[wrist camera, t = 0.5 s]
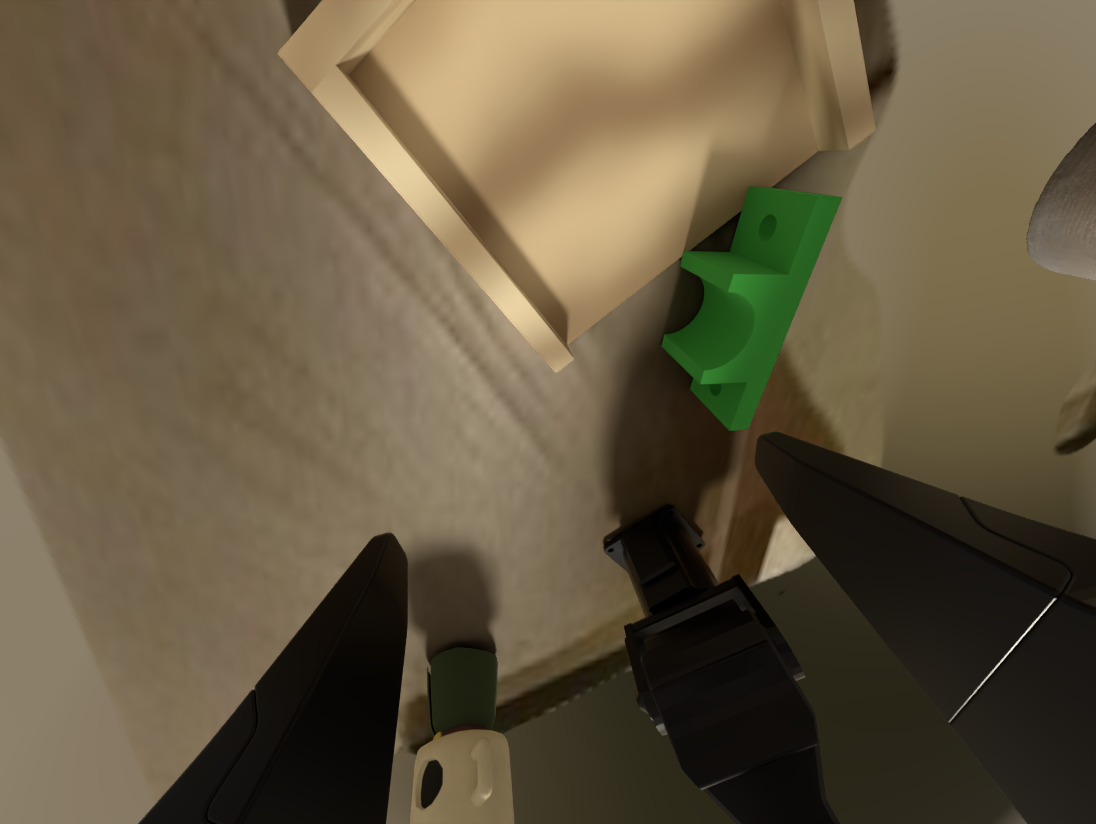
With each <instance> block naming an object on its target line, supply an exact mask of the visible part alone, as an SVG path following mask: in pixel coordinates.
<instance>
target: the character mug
mask: <svg viewBox="0 0 1096 824" xmlns="http://www.w3.org/2000/svg"><path fill="white" fill-rule="evenodd" d="M497 669H498V662H497V658H496V655H494V654H492V653H490V652H488V651H483V650H478V649H471V648H462V647H456V648H453V649H450V650H446V651H443V652H441V653H440V654H438V655H437V656H435V657H434V658H432V660H431V675H430V673H429V671H428V668H427V692H428V707H429V721H430V729H431V731H432V734H433V737H434V740H433V741H432V742H429V743H428V744H426V745H424V746H423V747H421V748H420V750H419V751H418V754H417V757H416V761H415V768H414V780H413V794H412V807H411V819H410V824H514V813H513V800H512V786H511V774H510V759H509V748H508V743H507V740H506V738H505V737H504V736H503V734H501V733H498V732H495V731H491V730H492V727H493V724H494V721H495V712H496V696H497Z"/></svg>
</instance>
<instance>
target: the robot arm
mask: <svg viewBox="0 0 1096 824" xmlns="http://www.w3.org/2000/svg"><path fill="white" fill-rule="evenodd" d="M755 466H756V469H757V471H758V473H759V474H760V476H761V477H762V479H763V480H764V482H765V484H766V485H767V487H768V488H769V490H770V492H771V493H772V495H773V496H774V498H775V499H776V501H777V503H778V504H779V506H780V507H781V509H782V511H783V512H784V514H785V515H786V517H787V518H788V520H789V521H790V523H791V524H792V525H793V527H794V528H795V529H796V531H797V532H798V533H799V534H800V536H801V537H802V538H803V540H804V541H805V542H806V543H807V545H808V546H809V547H810V548H811V550H812V551H813V552H814V554H815V555H816V556H817V557H818V559H819V560H820V561H821V562H822V564H823V565H824V566H825V567H826V569H827V570H828V571H829V573H830V574H831V575H832V576H833V578H834V579H835V580H836V581H837V583H838V584H839V585H840V586H841V588H842V589H843V590H844V592H845V593H846V594H847V595H848V596H849V598H850V599H851V600H852V602H853V603H854V604H855V605H856V607H857V608H858V609H859V611H860V612H861V613H862V614H863V616H864V617H865V618H866V619H867V621H868V622H869V623H870V624H871V626H872V627H873V628H874V629H875V631H876V632H877V633H878V634H879V636H880V637H881V638H882V640H883V641H884V642H885V643H886V645H887V646H888V647H889V648H890V650H891V651H892V652H893V654H894V655H895V656H896V657H897V659H898V660H899V661H900V662H901V664H902V665H903V666H904V668H905V669H906V670H907V671H908V673H909V674H910V675H911V676H912V678H913V679H914V680H915V681H916V683H917V684H918V685H919V687H920V688H921V689H922V690H923V692H924V693H925V694H926V695H927V697H928V698H929V699H930V700H931V702H932V703H933V704H934V705H935V707H936V708H937V709H938V711H939V712H940V713H941V714H942V716H943V717H944V718H945V719H946V721H947V722H949V723H950V726H951V728H952V729H953V730H954V731H955V733H956V734H957V735H958V736H959V738H960V739H961V740H962V742H963V743H964V744H965V745H966V747H967V748H968V749H969V750H970V752H971V753H972V754H973V755H974V757H975V758H976V759H977V760H978V762H979V763H980V764H981V765H982V767H983V768H984V769H985V770H986V772H987V773H988V774H989V776H990V777H991V778H992V779H993V781H994V782H995V783H996V784H997V786H998V787H999V788H1000V790H1001V791H1002V792H1003V793H1004V795H1005V796H1006V797H1007V798H1008V800H1009V801H1010V802H1011V804H1012V805H1013V806H1014V807H1015V809H1016V810H1017V811H1018V812H1019V814H1020V815H1021V816H1022V818H1023V819H1024V820H1025V821H1026V823H1027V824H1096V539H1093V538H1090V537H1087V536H1084V535H1080V534H1077V533H1073V532H1070V531H1066V530H1063V529H1060V528H1057V527H1054V526H1051V525H1047V524H1044V523H1041V522H1037V521H1034V520H1031V519H1028V518H1025V517H1021V516H1019V515H1015V514H1013V513H1009V512H1007V511H1004V510H1001V509H998V508H995V507H992V506H989V505H986V504H983V503H980V502H977V501H975V500H972V499H969V498H966V497H959V496H958V495H957V494H954V493H951V492H949V491H946V490H943V489H940V488H937V487H934V486H931V485H928V484H926V483H923V482H920V481H917V480H914V479H911V478H908V477H905V476H903V475H900V474H897V473H894V472H891V471H888V470H885V469H883V468H880V467H877V466H874V465H871V464H868V463H866V462H863V461H860V460H857V459H854V458H851V457H848V456H846V455H843V454H840V453H837V452H834V451H831V450H828V449H826V448H823V447H820V446H817V445H814V444H811V443H808V442H806V441H803V440H800V439H797V438H794V437H791V436H788V435H786V434H783V433H780V432H771V433H767V434H763V435H760V436H759V437H758V439H757V445H756V454H755ZM704 545H705V543H704V541H703V539H702V538H701V537H700V536H699V535H698V534H697V532H696V531H695V530H694V529H693V528H692V527H691V525H690V524H689V523H688V522H687V521H686V520H685V518H684V517H683V516H682V515H681V514H680V513H679V512H678V510H677V509H676V508H675V507H674V506H673V505H667V506H665V507H663V508H662V509H660V510H659V511H657V512H655V513H654V514H652V515H651V516H649V517H648V518H646V519H644V520H643V521H641V522H640V523H638V524H636V525H635V526H633V527H632V528H630V529H628V530H627V531H625V532H624V533H622V534H620V535H619V536H617V537H616V538H614V539H612V540H611V541H609V542H608V543H606V544H605V545H604V547H603V548H604V551H605V553H606V554H607V555H608V556H609V557H610V558H612V559H613V560H614V561H615V562H616V563H618V564H619V565H620V566H621V567H622V568H623V569H625V570H626V571H627V572H628V574H629V576H630V579H631V581H632V584H633V587H634V589H635V592H636V594H637V597H638V599H639V602H640V604H641V607H642V609H643V612H644V615H645V617H646V618H644V619H641V620H639V621H637V622H635V623H633V624H631V623H629V624H627V625H625V626H624V629H625V633H626V638H625V644H626V647H627V650H628V653H629V657H630V662H631V666H632V670H633V675H634V684H635V692H636V700H637V703H638V706H639V708H640V709H641V710H643V711H644V712H646V713H648V714H649V716H650V718H651V719H652V721H653V722H654V724H655V726H656V728H657V729H658V731H659V732H660V733H661V734H662V735H666V734H668V736H669V739H670V741H671V744H672V746H673V749H674V751H675V754H676V756H677V759H678V761H679V762H680V765H681V768H682V769H683V771H684V772H685V773H686V774H687V775H688V777H689V778H690V779H691V780H692V781H693V782H694V783H695V785H697V787H698V788H700V789H701V790H704V791H705V792H706V793H707V794H708V795H709V796H710V797H711V798H712V799H713V800H714V801H715V802H716V803H717V804H718V805H719V806H720V807H721V809H722V810H723V811H724V812H725V813H726V814H727V815H728V816H729V817H730V818H731V819H732V820H733V821H734V822H735V823H736V824H840V823H839V822H838V820H837V818H836V816H835V814H834V813H833V811H832V809H831V807H830V805H829V804H828V802H827V800H826V796H825V788H824V781H823V772H822V765H821V756H820V749H819V740H818V732H817V725H816V717H815V713H814V711H813V709H812V707H811V705H810V704H809V702H808V701H807V699H806V697H805V695H804V694H803V692H802V690H801V689H800V687H799V685H798V684H797V682H796V681H797V680H799V679H802V678H804V677H805V675H804V673H803V670H802V669H801V666H800V664H799V663H798V661H797V659H796V657H795V656H794V654H793V652H792V650H791V649H790V647H789V646H788V644H787V642H786V640H785V639H784V637H783V636H782V634H781V633H780V631H779V630H778V628H777V627H776V625H775V624H774V622H773V621H772V619H771V618H770V617H769V615H768V614H767V612H766V611H765V610H764V608H763V607H762V606H761V604H760V603H759V601H758V600H757V599H756V597H755V596H754V594H753V593H752V592H751V591H750V589H749V588H748V586H747V585H746V583H745V582H744V581H743V579H742V578H741V576H740V575H739V574H737V575H735V576H732V577H731V578H732V579H729V580H727V581H725V582H723V583H721V584H719V583H718V581H717V580H716V578H715V576H714V575H713V573H712V571H711V569H710V568H709V566H708V564H707V563H706V561H705V559H704V558H703V556H702V554H701V553H700V551H699V550H700V549H701V548H703V547H704ZM407 625H408V562H407V557H406V554H405V552H404V550H403V549H402V547H401V545H400V544H399V542H398V540H397V539H396V537H395V536H394V534H392V533H385V534H381V535H377V536H374V537H373V538H372V539H371V540H370V541H369V542H368V544H367V545H366V546H365V548H364V549H363V550H362V551H361V553H360V554H359V555H358V556H357V558H356V559H355V560H354V561H353V563H352V564H351V565H350V566H349V568H348V569H347V570H346V572H345V573H344V574H343V575H342V577H341V578H340V579H339V580H338V582H337V583H336V584H335V585H334V587H333V588H332V589H331V590H330V592H329V593H328V594H327V595H326V597H325V598H324V599H323V601H322V602H321V603H320V604H319V606H318V607H317V608H316V609H315V611H314V612H313V613H312V614H311V616H310V617H309V618H308V619H307V621H306V622H305V623H304V625H303V626H302V627H301V628H300V630H299V631H298V632H297V633H296V635H295V636H294V637H293V638H292V640H291V641H290V642H289V643H288V645H287V646H286V647H285V649H284V650H283V651H282V652H281V654H280V655H279V656H278V657H277V659H276V660H275V661H274V662H273V664H272V665H271V666H270V667H269V669H268V670H267V671H266V673H265V674H264V675H263V676H262V678H261V679H260V680H259V681H258V683H257V684H256V685H255V690H251V691H250V693H249V694H248V695H247V696H246V698H245V699H244V700H243V701H242V703H241V704H240V705H239V706H238V708H237V709H236V710H235V711H234V713H233V714H232V715H231V716H230V718H229V719H228V720H227V721H226V722H225V724H224V725H223V726H222V727H221V729H220V730H219V731H218V732H217V733H216V735H215V736H214V737H213V738H212V740H211V741H210V742H209V743H208V744H207V746H206V747H205V748H204V749H203V750H202V751H201V753H200V754H199V755H198V756H197V757H196V758H195V760H194V761H193V762H192V763H191V764H190V765H189V766H188V768H187V769H186V770H185V771H184V772H183V773H182V775H181V776H180V777H179V778H178V779H177V780H176V781H175V783H174V784H173V785H172V786H171V787H170V788H169V789H168V791H167V792H166V793H165V794H164V795H163V796H162V797H161V798H160V800H159V801H158V802H157V803H156V804H155V805H154V806H153V808H152V809H151V810H150V811H149V812H148V813H147V814H146V815H145V817H144V818H143V819H142V820H141V821H140V822H139V823H138V824H386V818H387V809H388V801H389V792H390V783H391V773H392V764H393V755H394V746H395V737H396V728H397V719H398V710H399V701H400V692H401V683H402V674H403V665H404V656H405V647H406V638H407Z"/></svg>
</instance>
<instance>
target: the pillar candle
mask: <svg viewBox="0 0 1096 824" xmlns="http://www.w3.org/2000/svg"><path fill="white" fill-rule="evenodd" d="M1027 244H1028V248H1027V250H1028V254H1029V256H1030V257H1031V259H1032V260H1034V261H1035V262H1036V263H1038V264H1039V265H1041V266H1042V267H1044V268H1046V269H1047V270H1051V271H1055V272H1059V273H1064V274H1069V275H1075V276H1079V277H1084V278H1088V279H1092V280H1096V123H1095V124H1094V125H1093V126H1092V127H1091V128H1090V129H1089V130H1088V132H1086V133H1085V135H1084V136H1083V137H1082V138H1080V140H1079V141H1078V142H1077V143H1076V145H1075V146H1074V148H1073V149H1072V150H1071V151H1070V152H1069V153H1068V154H1067V155H1066V156H1065V158H1064V159H1063V160H1062V162H1061V163H1060V165H1059V166H1058V167H1057V169H1056V170H1055V172H1054V173H1053V175H1052V176H1051V178H1050V179H1049V181H1048V182H1047V184H1046V186H1045V188H1044V190H1043V192H1042V194H1041V195H1040V198H1039V200H1038V202H1037V203H1036V205H1035V207H1034V211H1033V214H1032V217H1031V220H1030V223H1029V230H1028V232H1027Z"/></svg>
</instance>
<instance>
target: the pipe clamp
mask: <svg viewBox="0 0 1096 824" xmlns="http://www.w3.org/2000/svg"><path fill="white" fill-rule="evenodd" d="M841 199H842V197H838V196H830V195H823V194H815V193H808V192H800V191H792V190H785V189H777V188H770V187H753V186H749V187H748V191H747V194H746V198H745V201H744V205H743V208H742V211H741V215H740V218H739V222H738V225H737V229H736V232H735V236H734V239H733V242H732V246H731V249H730V252H704V251H683V255H682V260H681V264H680V267H682V268H684V269H686V270H688V271H690V272H692V273H693V274H695V275H697V276H699V277H700V278H701V279H702V282H703V285H704V300H703V304H702V306H701V309H700V311H699V312H698V314H697V316H696V317H695V318H694V319H693V321H692V322H691V323H689V324H688V325H687V326H686V327H684V328H683V329H681V330H679V331H677V332H674V333H671V334H664V338H663V342H662V347H663V348H664V349H665V350H666V351H667V352H668V353H669V354H670V355H671V356H672V357H673V358H674V359H675V360H676V361H677V362H678V363H679V364H680V365H681V366H682V367H683V368H684V369H685V370H686V371H687V372H688V373H689V374H690V375H691V376H692V377H693V380H692V384H691V387H690V390H691V391H692V392H693V393H694V394H695V395H696V396H697V397H698V398H699V400H700V401H701V402H702V403H703V404H704V405H705V406H706V407H707V408H708V409H709V410H710V411H711V412H712V413H713V414H714V415H715V416H716V417H717V418H718V419H719V420H720V421H721V423H722V424H723V425H724V426H725V427H726V428H727V429H728V430H729V431H733V430H748V428H749V425H750V423H751V420H752V418H753V416H754V413H755V411H756V408H757V406H758V403H759V401H760V398H761V396H762V393H763V391H764V389H765V386H766V384H767V381H768V379H769V376H770V374H771V371H772V369H773V366H774V364H775V361H776V359H777V357H778V354H779V352H780V349H781V347H782V344H783V342H784V339H785V337H786V334H787V332H788V330H789V327H790V325H791V322H792V320H793V317H794V315H795V312H796V310H797V307H798V305H799V303H800V300H801V298H802V295H803V293H804V290H805V288H806V285H807V283H808V280H809V278H810V276H811V273H812V271H813V268H814V266H815V263H816V261H817V258H818V256H819V253H820V251H821V249H822V246H823V244H824V241H825V239H826V236H827V234H828V231H829V229H830V226H831V224H832V222H833V219H834V217H835V214H836V212H837V209H838V207H839V204H840V202H841Z"/></svg>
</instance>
